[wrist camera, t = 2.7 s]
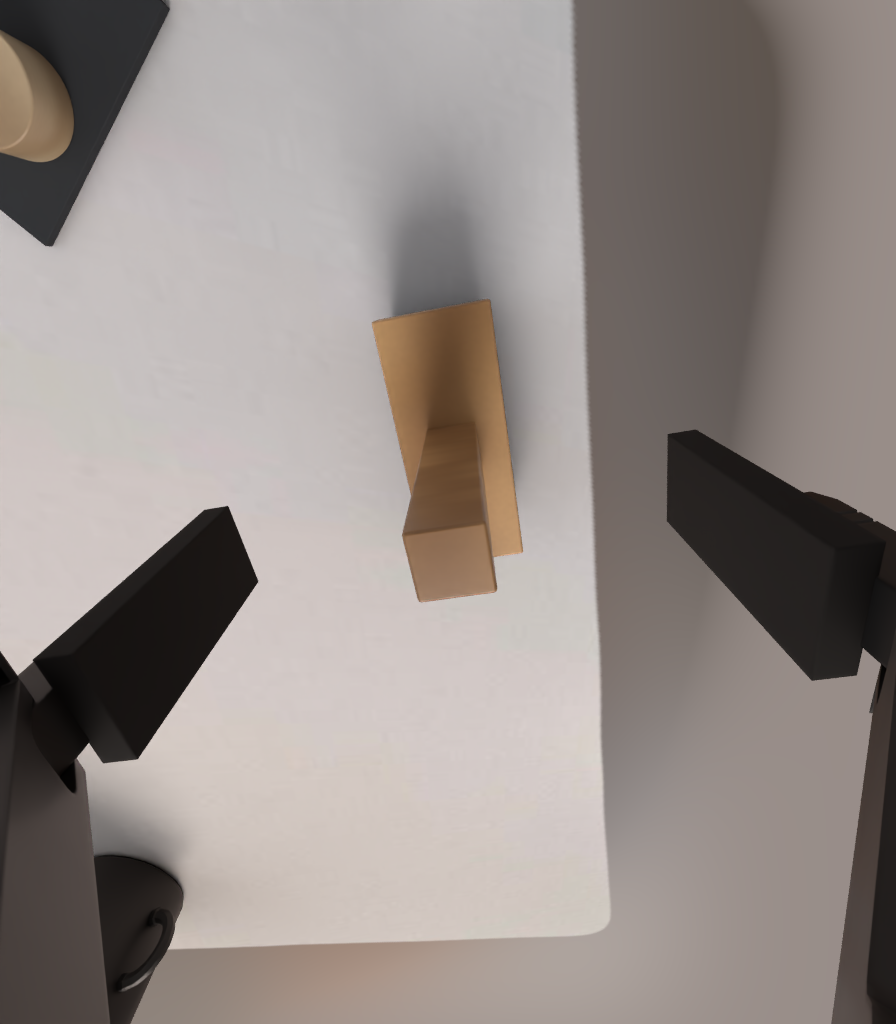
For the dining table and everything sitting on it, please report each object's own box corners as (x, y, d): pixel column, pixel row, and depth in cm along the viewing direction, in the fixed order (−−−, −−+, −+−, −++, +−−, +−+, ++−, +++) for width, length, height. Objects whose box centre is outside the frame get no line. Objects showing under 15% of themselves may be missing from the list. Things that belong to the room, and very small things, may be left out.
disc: (-6, 11, 17) (-61, -22, 15) (91, 99, 18) (49, 79, 16) (-42, 107, 18) (-98, 87, 16) (51, 185, 19) (8, 175, 17)
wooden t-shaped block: (485, 296, 21) (516, 310, 9) (515, 517, 25) (560, 714, 14) (385, 316, 21) (294, 352, 10) (431, 530, 25) (407, 731, 14)
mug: (233, 901, 41) (176, 1056, 33) (119, 927, 43) (38, 1078, 35) (165, 835, 37) (82, 991, 29) (44, 867, 39) (-65, 1020, 31)
